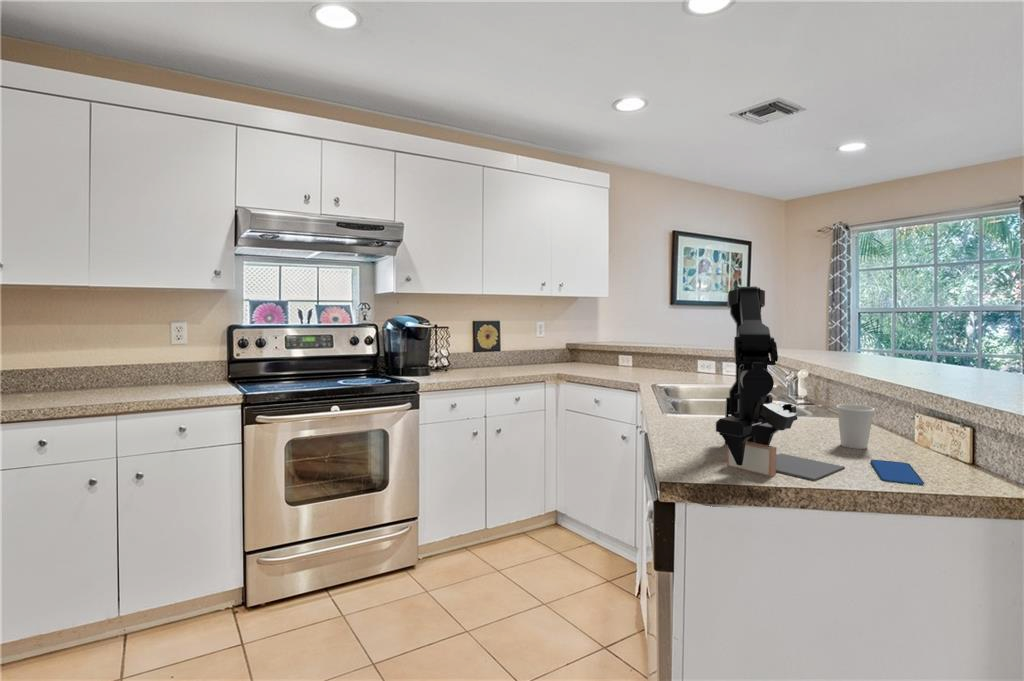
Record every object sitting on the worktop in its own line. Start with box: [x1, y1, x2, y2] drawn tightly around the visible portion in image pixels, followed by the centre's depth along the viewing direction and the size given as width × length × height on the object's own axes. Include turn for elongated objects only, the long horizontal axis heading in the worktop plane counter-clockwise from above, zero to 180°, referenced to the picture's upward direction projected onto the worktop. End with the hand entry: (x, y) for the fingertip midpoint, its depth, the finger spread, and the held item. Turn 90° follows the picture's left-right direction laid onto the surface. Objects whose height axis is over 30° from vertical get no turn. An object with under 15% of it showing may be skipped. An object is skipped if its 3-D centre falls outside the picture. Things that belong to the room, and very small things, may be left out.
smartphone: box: [870, 459, 925, 486], centre depth 117 cm, size 7×1×15 cm
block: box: [726, 441, 777, 477], centre depth 120 cm, size 10×2×6 cm, turn 37°
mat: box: [776, 452, 846, 482], centre depth 122 cm, size 14×14×1 cm
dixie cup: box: [835, 403, 876, 450], centre depth 140 cm, size 8×8×10 cm
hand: (751, 461), depth 120 cm, fingers open, 9 cm apart
